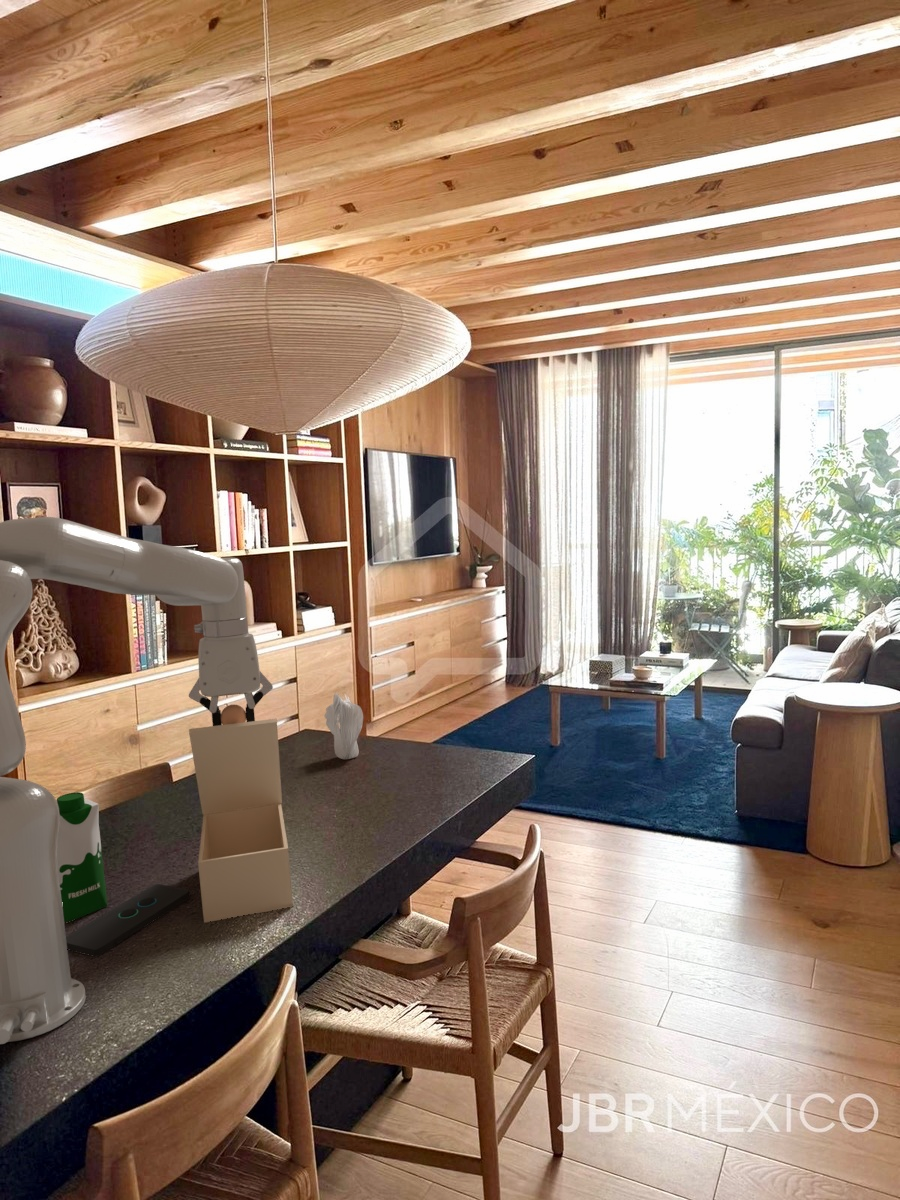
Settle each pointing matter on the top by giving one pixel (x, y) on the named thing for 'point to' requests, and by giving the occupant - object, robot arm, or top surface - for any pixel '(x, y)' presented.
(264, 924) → the top surface
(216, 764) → the lid flap
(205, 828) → the carton
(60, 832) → the milk carton
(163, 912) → the smart home device
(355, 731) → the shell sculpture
